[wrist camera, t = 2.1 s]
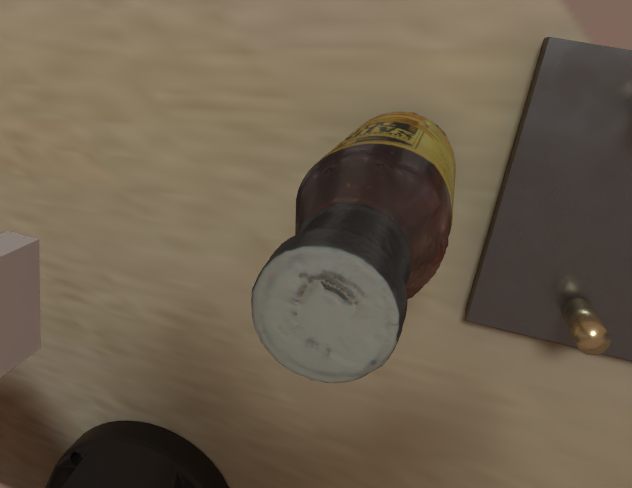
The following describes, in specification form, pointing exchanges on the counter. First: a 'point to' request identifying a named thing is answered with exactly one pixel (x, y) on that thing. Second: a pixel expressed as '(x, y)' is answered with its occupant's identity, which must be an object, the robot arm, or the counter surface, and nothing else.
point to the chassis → (566, 208)
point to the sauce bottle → (358, 249)
